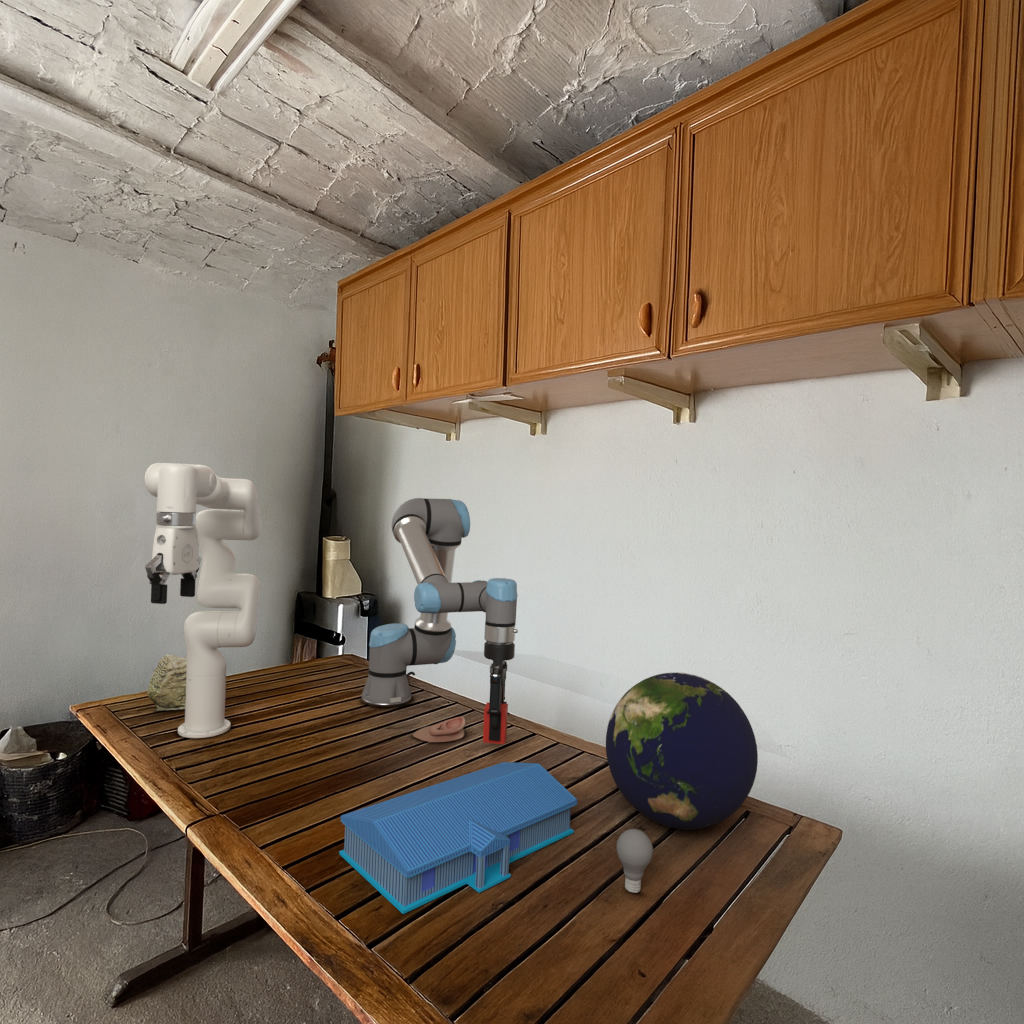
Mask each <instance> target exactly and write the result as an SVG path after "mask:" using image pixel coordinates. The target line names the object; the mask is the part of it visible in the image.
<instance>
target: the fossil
mask: <svg viewBox="0 0 1024 1024" xmlns="http://www.w3.org/2000/svg"><path fill="white" fill-rule="evenodd" d="M186 671H187V656H183V657H182V656H178V655H175V654H174V655H173V654H165V655H164V656H163V657H162V658H161V659H160V660H159V662H158V663H157V666H156V667H155V669H154V670H153V672H152V675H151V677H150V680H149V684H148V688H147V697H148V699H149V700H150V701H152V703H153V704H154V706H155V711H158V712H159V711H162V712H163V711H177V710H185V701H186Z"/></svg>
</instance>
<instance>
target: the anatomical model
mask: <svg viewBox="0 0 1024 1024" xmlns="http://www.w3.org/2000/svg"><path fill="white" fill-rule="evenodd" d="M465 726H466V719H465V717H463V716H457V717H453V718H449V719H446V720H444V721H440V722H438V723H435V724H432V725H429V726H424V727H422V728H420V729H418V730H416V731H415V732H414V733H412V737H413V738H415V739H418V740H420V741H424V742H427V743H444V742H445V743H446V742H452V741H458V740H461V739H462V738H464V736H465V730H464V728H465Z"/></svg>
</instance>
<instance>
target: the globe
mask: <svg viewBox="0 0 1024 1024" xmlns="http://www.w3.org/2000/svg"><path fill="white" fill-rule="evenodd" d="M605 755H606V760H607V765H608V769H609V772H610V773H611V774H610V775H611V776H612V779H613V781H614V784H615V786H616V787H617V788H618V790H619V792H620V793H621V795H622V796H623V797H624V799H625V800H626V801H627V802H628V803H629V805H631V806H632V807H633V808H634V809H635V810H636V811H637V812H639V813H640V814H641V815H642V816H643V817H645V818H647V819H649V820H650V821H652V822H654V823H657V824H659V825H661V826H664V827H667V828H670V829H671V828H672V829H677V830H685V831H686V830H687V831H690V830H701V829H706V828H710V827H712V826H715V825H718V824H719V823H721V822H723V821H725V820H726V819H728V818H730V817H731V816H732V815H733V814H735V812H737V811H738V810H739V808H741V806H742V805H743V803H744V802H745V801H746V800H747V798H748V796H749V795H750V793H751V791H752V788H753V786H754V783H755V780H756V776H757V772H758V762H759V761H758V760H759V759H758V758H759V757H758V756H759V754H758V745H757V740H756V736H755V732H754V729H753V727H752V724H751V722H750V720H749V718H748V716H747V715H746V713H745V711H744V710H743V708H742V707H741V706H740V704H739V703H738V702H737V700H735V698H734V697H733V696H732V695H731V694H730V693H729V692H728V691H726V690H725V689H723V688H722V687H721V686H719V685H718V684H716V683H714V682H713V681H710V680H709V679H707V678H704V677H701V676H698V675H696V674H691V673H686V672H679V671H677V672H665V673H658V674H655V675H652V676H649V677H646V678H644V679H643V680H641V681H639V682H637V683H636V684H635V685H633V686H631V687H630V688H629V689H628V690H627V691H626V692H625V693H624V694H623V695H622V696H621V697H620V699H619V700H618V702H617V703H616V704H615V706H614V708H613V710H612V712H611V714H610V717H609V720H608V723H607V728H606V733H605Z"/></svg>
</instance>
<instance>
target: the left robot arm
mask: <svg viewBox="0 0 1024 1024" xmlns="http://www.w3.org/2000/svg"><path fill="white" fill-rule="evenodd" d="M144 485H145V488H146V490H147V492H148V493H149V494H150V495H151V496H153V497H154V498H156V517H155V519H156V520H155V531H154V537H153V543H152V553H151V559H150V560H149V561H148V562H147V563H146V564H145V565H144V568H145V571H146V577H147V579H148V580H149V582H148V583H149V585H150V602H151V604H155V605H165V604H167V603H168V584H166V583H167V581H168V579H169V577H170V575H172V576H178V575H181V576H182V578H181V577H180V585H179V586H180V587H179V596H180V597H183V598H186V597H187V598H194V597H195V596H196V600H197V603H198V605H199V606H202V607H203V608H207V609H208V608H209V609H239V610H200V611H195V612H193V613H191V614H189V615H188V616H187V617H186V619H185V620H184V623H183V635H184V641H185V651H186V652H185V653H186V657H187V671H186V701H185V709H184V722H182V724H180V725H179V726H178V727H177V734H178V735H179V736H180V737H182V738H188V739H207V738H212V737H216V736H220V735H222V734H224V733H227V732H228V731H230V729H231V727H232V725H231V723H232V722H231V721H230V720H228V719H226V718H225V715H226V692H227V691H226V689H227V661H226V658H225V656H224V654H223V653H222V652H221V651H220V649H221V648H245V647H249V646H251V645H252V644H253V643H254V641H255V639H256V635H257V627H258V621H259V613H260V603H261V594H262V592H261V591H262V589H261V582H260V580H259V578H258V577H257V576H256V575H255V574H252V573H235V570H236V565H237V558H236V555H235V554H234V552H233V551H232V550H231V548H230V547H229V546H228V545H227V544H226V543H225V542H224V541H254V540H256V539H258V538H260V536H261V533H262V529H263V523H262V514H261V507H260V506H261V505H260V500H259V494H258V491H257V488H256V486H255V484H254V482H253V481H251V480H249V479H248V478H247V479H246V478H231V477H229V478H228V477H227V478H225V477H220V476H218V475H216V473H215V472H214V470H213V469H212V468H211V467H209V466H207V465H204V464H192V463H177V462H176V463H175V462H154V463H152V464H151V465H149V466H148V467H147V469H146V471H145V474H144ZM197 505H199V506H201V507H204V508H207V509H203V510H201V511H199V512H197ZM200 552H201V556H202V558H201V557H200ZM200 565H201V568H200ZM199 571H200V573H199V578H198V572H199ZM197 578H198V583H197V589H196V579H197Z"/></svg>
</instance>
